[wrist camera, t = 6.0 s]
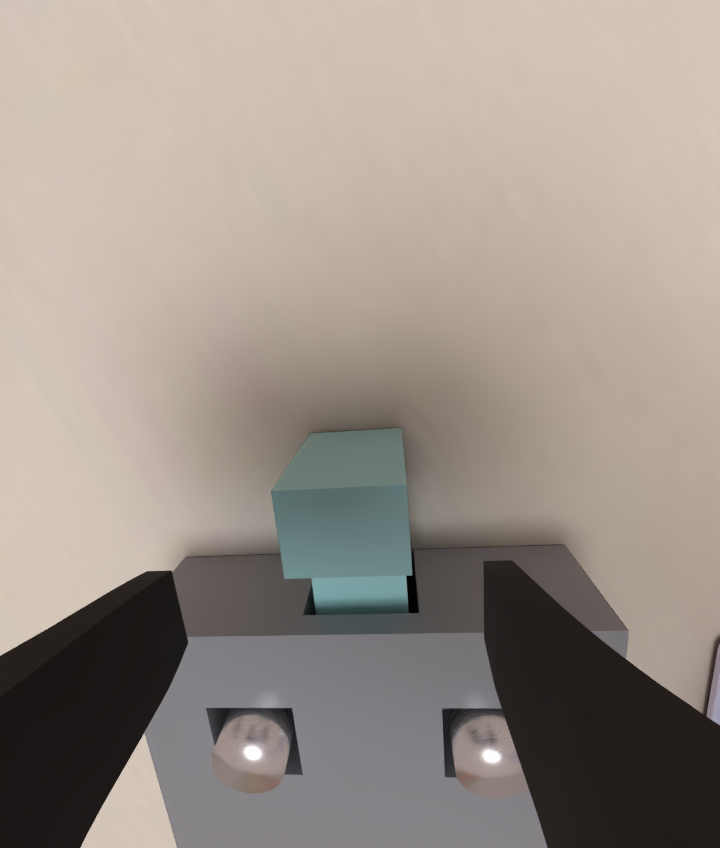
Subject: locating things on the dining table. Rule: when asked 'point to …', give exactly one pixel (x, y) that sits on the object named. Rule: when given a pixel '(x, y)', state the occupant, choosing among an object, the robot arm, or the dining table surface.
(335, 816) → the housing
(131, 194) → the dining table surface
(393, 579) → the cartridge
